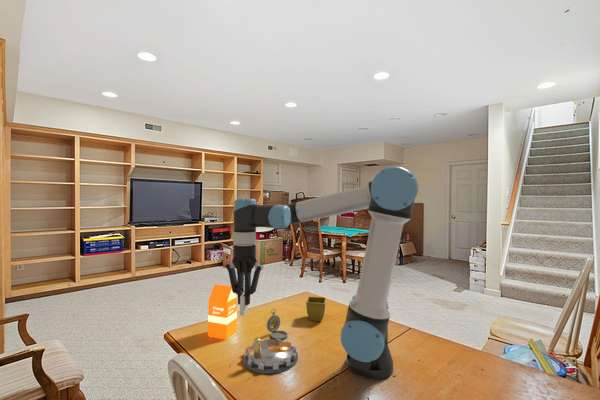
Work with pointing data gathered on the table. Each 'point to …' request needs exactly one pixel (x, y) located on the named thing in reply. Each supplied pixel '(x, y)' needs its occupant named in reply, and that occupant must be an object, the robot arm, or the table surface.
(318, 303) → the flower pot
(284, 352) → the sprocket
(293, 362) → the base plate
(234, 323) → the orange juice
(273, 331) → the pocket watch
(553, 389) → the table surface
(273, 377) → the table surface
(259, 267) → the robot arm
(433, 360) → the table surface
